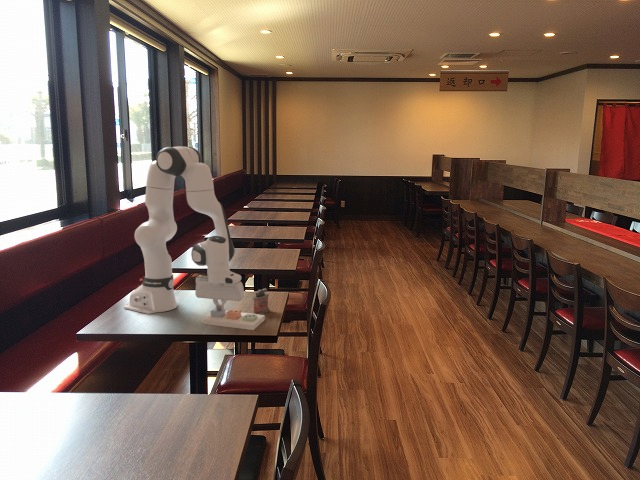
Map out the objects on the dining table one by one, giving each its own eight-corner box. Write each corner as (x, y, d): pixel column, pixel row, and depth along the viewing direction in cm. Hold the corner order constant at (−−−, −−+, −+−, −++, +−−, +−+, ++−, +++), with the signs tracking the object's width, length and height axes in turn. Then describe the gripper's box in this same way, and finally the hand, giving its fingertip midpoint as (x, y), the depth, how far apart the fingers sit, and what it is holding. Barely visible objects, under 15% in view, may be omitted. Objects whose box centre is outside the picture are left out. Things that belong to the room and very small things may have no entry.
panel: (202, 323, 204) (202, 318, 204) (216, 313, 216) (216, 309, 215) (253, 330, 198) (253, 325, 198) (264, 319, 210) (264, 315, 209)
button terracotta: (226, 319, 205) (226, 312, 205) (231, 315, 209) (231, 308, 209) (236, 320, 204) (236, 313, 203) (241, 317, 208) (241, 309, 208)
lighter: (257, 315, 214) (257, 292, 212) (251, 313, 216) (251, 291, 214) (270, 310, 221) (270, 288, 219) (264, 309, 223) (264, 286, 221)
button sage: (242, 324, 204) (242, 317, 203) (247, 320, 208) (247, 313, 207) (252, 325, 202) (252, 318, 202) (257, 322, 207) (257, 314, 206)
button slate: (210, 318, 207) (210, 310, 207) (216, 314, 211) (215, 307, 211) (220, 319, 206) (220, 312, 205) (225, 315, 210) (225, 308, 209)
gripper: (191, 276, 205) (193, 309, 208) (238, 280, 200) (239, 313, 203) (199, 272, 211) (200, 304, 214) (245, 276, 206) (246, 308, 209)
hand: (220, 309), depth 208 cm, fingers closed
